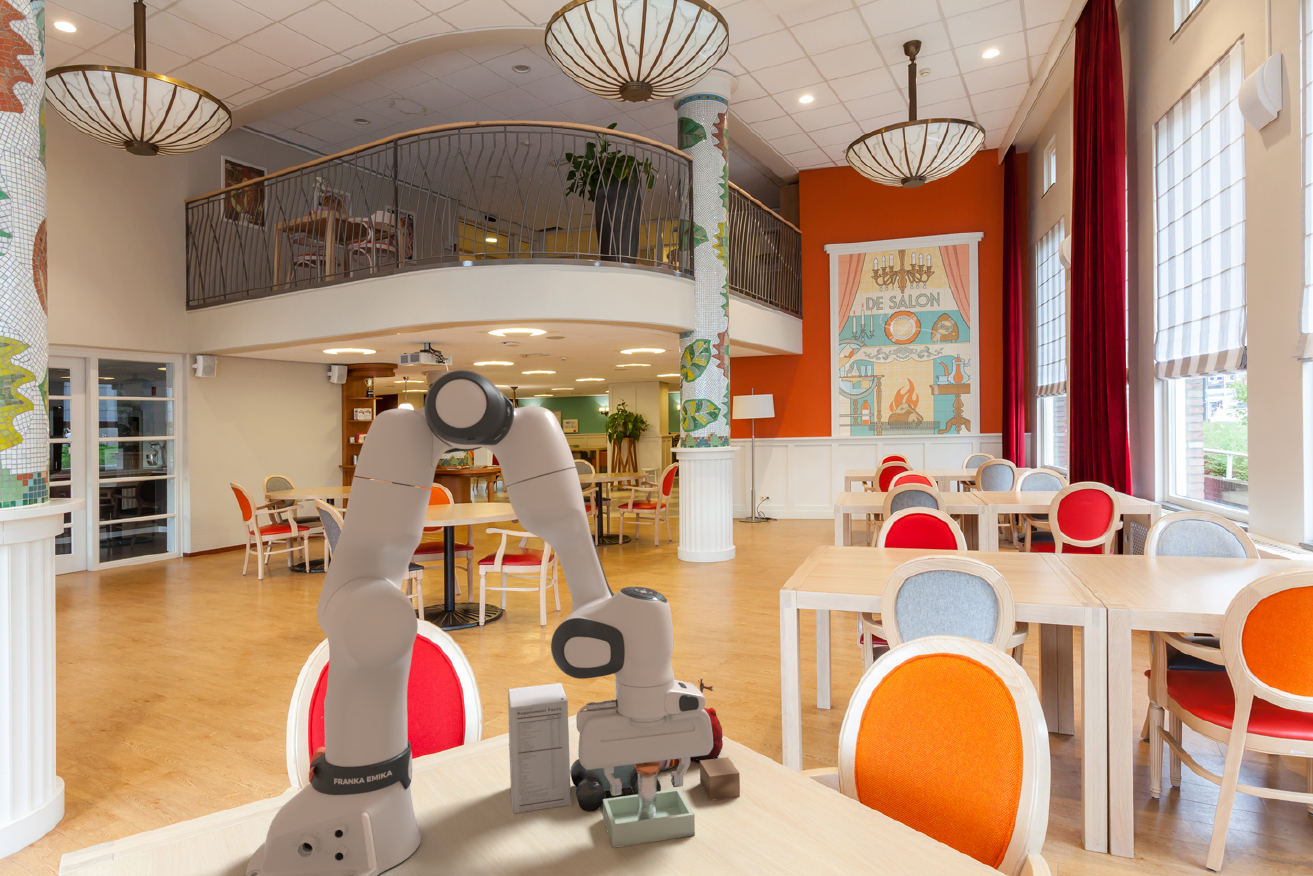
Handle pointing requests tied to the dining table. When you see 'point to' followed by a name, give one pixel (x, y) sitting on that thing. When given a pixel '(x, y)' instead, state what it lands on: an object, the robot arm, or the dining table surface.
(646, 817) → the orange capped vial
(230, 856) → the dining table surface
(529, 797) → the supplement box
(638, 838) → the tray
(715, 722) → the red clay folk toy
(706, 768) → the chock
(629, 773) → the trolley
